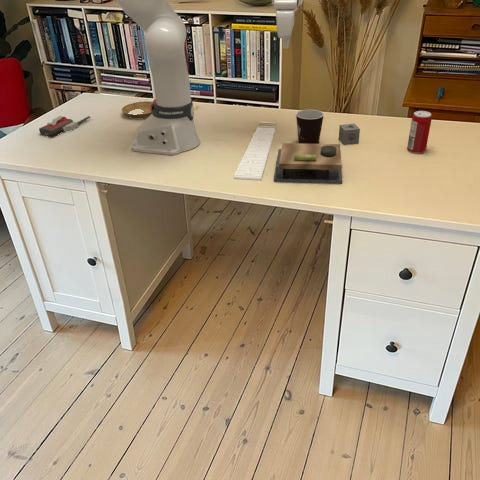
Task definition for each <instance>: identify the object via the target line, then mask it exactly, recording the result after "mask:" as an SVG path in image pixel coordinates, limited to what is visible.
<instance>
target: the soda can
mask: <svg viewBox="0 0 480 480" xmlns="http://www.w3.org/2000/svg"><path fill="white" fill-rule="evenodd" d="M432 119H433V118H432V113H431V112H429V111H425V110H417V111H415V112H413V115H412V118H411V123H410V129H409V134H408V141H407V146H406V149H407V150H408V152H409V153H412V154H417V155H418V154H419V155H420V154H422V153H425V152H426V150H427V146H428V141H429V134H430V131H431V124H432Z"/></svg>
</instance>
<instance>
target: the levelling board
mask: <svg viewBox="0 0 480 480" xmlns="http://www.w3.org/2000/svg"><path fill="white" fill-rule="evenodd" d="M280 149H281V155H280V162H279V169H322V170H342V167H343V163H342V161H343V160H342V152H341V151H342V150H341V144H340V143H319V144H299V142H298V143H295V142H294V143H291V142H290V143H289V142H287V143H285V142H282V143H281V148H280Z"/></svg>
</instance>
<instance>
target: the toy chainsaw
mask: <svg viewBox="0 0 480 480" xmlns="http://www.w3.org/2000/svg"><path fill="white" fill-rule="evenodd" d="M89 119H91V116H90V115H88V116H87V117H84V118H83V119H80V120H78V121H74V120H73V119H71V118H67V117H66V116H62V115H59V116H57V117H55V118H53V119H52V120H51V122H47V124H45V125H44V126H41V127H39V133H40V134H39V135H40V136H41V135H42V136H43V137H47V136H48V137H47V138H55V136H56V137H57V136H59V135H61V134H62V133H61V132H63V133H67V132H66V131H70V130H72V129H74V128H76V127H78V126H80V125H81V124H83V123H85V122H87V120H89ZM78 128H79V127H78ZM76 129H77V128H76ZM74 130H75V129H74ZM72 131H73V130H72ZM70 132H71V131H70ZM60 133H61V134H60ZM58 134H59V135H58Z"/></svg>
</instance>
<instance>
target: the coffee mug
mask: <svg viewBox="0 0 480 480" xmlns="http://www.w3.org/2000/svg"><path fill="white" fill-rule="evenodd" d="M324 115H325V113H324V112H323V111H321V110H318V109H302V110H298V111H297V112H296V113H295V118H296V130H297V140H298V144H320V138H321V134H322V133H321V132H322V127H323V121H324Z"/></svg>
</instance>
